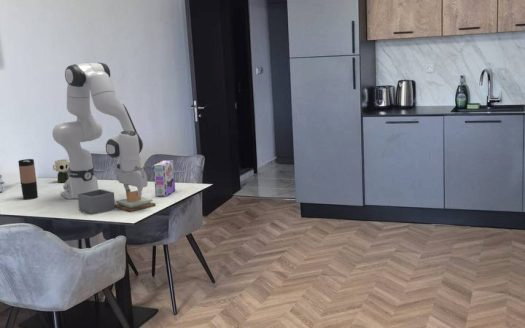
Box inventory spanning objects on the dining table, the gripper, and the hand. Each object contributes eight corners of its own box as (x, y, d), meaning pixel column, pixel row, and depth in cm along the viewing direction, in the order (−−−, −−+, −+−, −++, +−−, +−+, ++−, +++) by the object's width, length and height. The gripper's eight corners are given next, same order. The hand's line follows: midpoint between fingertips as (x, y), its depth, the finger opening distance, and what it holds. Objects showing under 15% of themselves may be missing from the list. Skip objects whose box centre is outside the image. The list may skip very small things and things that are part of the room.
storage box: (79, 210, 267) (77, 194, 266) (102, 205, 276) (100, 189, 274) (92, 214, 259) (90, 197, 257) (115, 209, 267) (113, 192, 266)
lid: (116, 205, 270) (115, 192, 269) (138, 199, 278) (137, 187, 277) (130, 208, 261) (129, 196, 260) (152, 203, 270) (151, 191, 269)
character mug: (57, 184, 329) (55, 162, 327) (51, 183, 334) (49, 161, 332) (75, 181, 337) (72, 159, 335) (69, 179, 342) (66, 158, 339)
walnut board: (114, 207, 270) (113, 205, 270) (139, 201, 280) (139, 199, 279) (130, 212, 260) (129, 209, 260) (155, 205, 270) (155, 203, 270)
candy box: (166, 197, 287) (163, 164, 284) (155, 196, 288) (152, 164, 285) (175, 190, 300) (173, 159, 297) (165, 190, 301) (162, 160, 298)
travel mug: (25, 196, 301) (20, 159, 298) (40, 195, 302) (35, 158, 298) (20, 200, 294) (15, 162, 290) (35, 199, 295) (31, 161, 291)
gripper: (149, 166, 261) (151, 196, 264) (125, 162, 276) (127, 190, 278) (137, 169, 257) (140, 198, 259) (113, 164, 271) (116, 192, 274)
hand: (133, 194), depth 269 cm, fingers open, 8 cm apart
